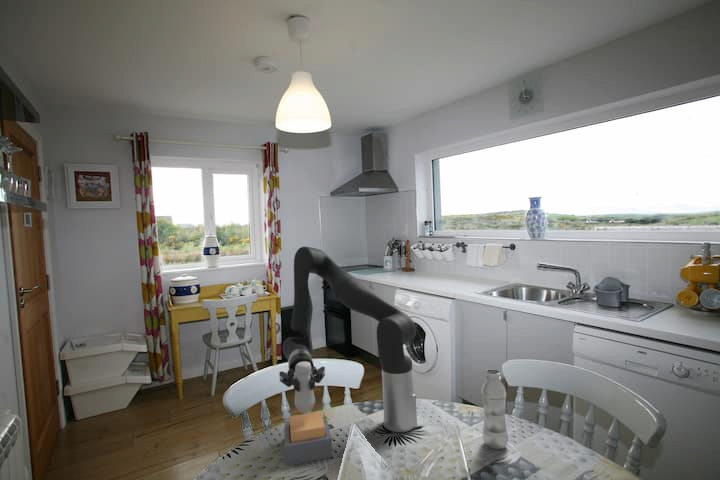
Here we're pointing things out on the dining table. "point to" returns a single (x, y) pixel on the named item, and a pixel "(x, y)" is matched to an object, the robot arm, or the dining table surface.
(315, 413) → the orange block
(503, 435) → the plastic bottle
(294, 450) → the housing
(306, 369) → the salt shaker
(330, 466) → the dining table surface
